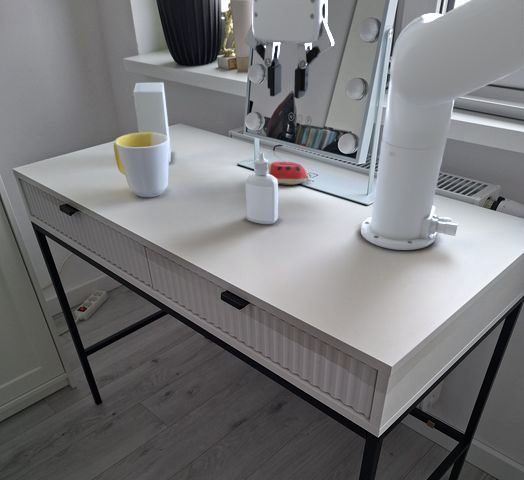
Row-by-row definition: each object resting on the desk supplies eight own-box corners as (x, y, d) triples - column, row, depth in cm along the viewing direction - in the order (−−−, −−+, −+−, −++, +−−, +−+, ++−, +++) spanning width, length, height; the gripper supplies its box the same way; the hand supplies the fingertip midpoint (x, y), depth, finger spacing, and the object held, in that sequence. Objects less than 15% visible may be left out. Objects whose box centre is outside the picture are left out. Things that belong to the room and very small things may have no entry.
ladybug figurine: (265, 173, 111) (265, 157, 108) (310, 176, 109) (311, 160, 107) (259, 185, 106) (259, 167, 103) (306, 188, 104) (306, 170, 102)
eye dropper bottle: (262, 228, 89) (261, 159, 82) (243, 218, 93) (240, 151, 85) (281, 221, 91) (282, 154, 84) (262, 212, 95) (261, 146, 87)
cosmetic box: (145, 153, 122) (134, 82, 113) (173, 152, 123) (164, 81, 113) (143, 165, 116) (131, 90, 106) (172, 164, 116) (162, 89, 107)
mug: (184, 193, 102) (178, 139, 96) (139, 206, 97) (130, 150, 91) (151, 175, 111) (143, 124, 104) (108, 186, 106) (97, 134, 99)
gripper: (359, -60, 66) (346, 94, 78) (244, -58, 71) (248, 86, 83) (344, -60, 61) (332, 105, 72) (221, -58, 66) (228, 96, 77)
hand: (287, 94), depth 77 cm, fingers open, 3 cm apart
